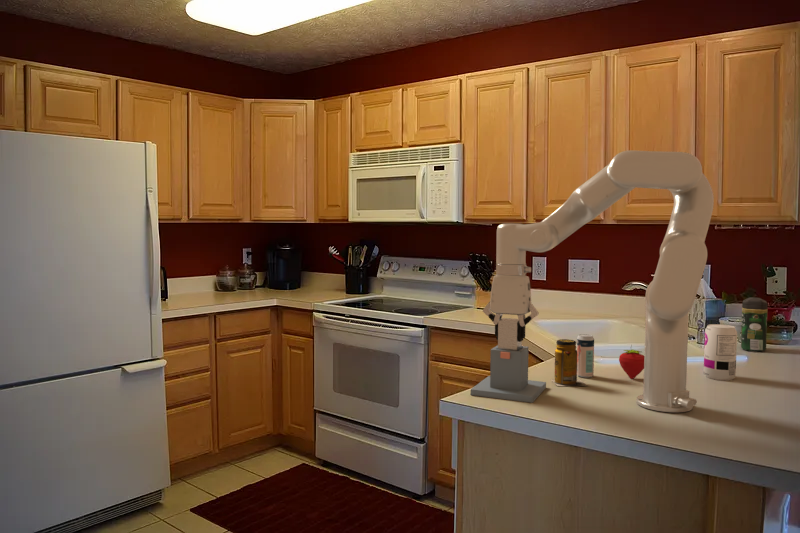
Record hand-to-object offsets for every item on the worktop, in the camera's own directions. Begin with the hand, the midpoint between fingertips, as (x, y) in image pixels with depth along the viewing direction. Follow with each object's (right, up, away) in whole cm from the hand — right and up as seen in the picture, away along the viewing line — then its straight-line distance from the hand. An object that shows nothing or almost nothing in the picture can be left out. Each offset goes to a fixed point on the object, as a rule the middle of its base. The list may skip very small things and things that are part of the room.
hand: (509, 339), depth 161 cm
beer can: (+25, -13, +17) cm, 33 cm away
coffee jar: (+97, -11, +57) cm, 113 cm away
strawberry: (+38, -13, +14) cm, 42 cm away
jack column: (0, -12, +1) cm, 12 cm away
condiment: (+18, -14, +10) cm, 25 cm away
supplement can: (+64, -13, +16) cm, 67 cm away
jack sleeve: (0, -14, +1) cm, 14 cm away
